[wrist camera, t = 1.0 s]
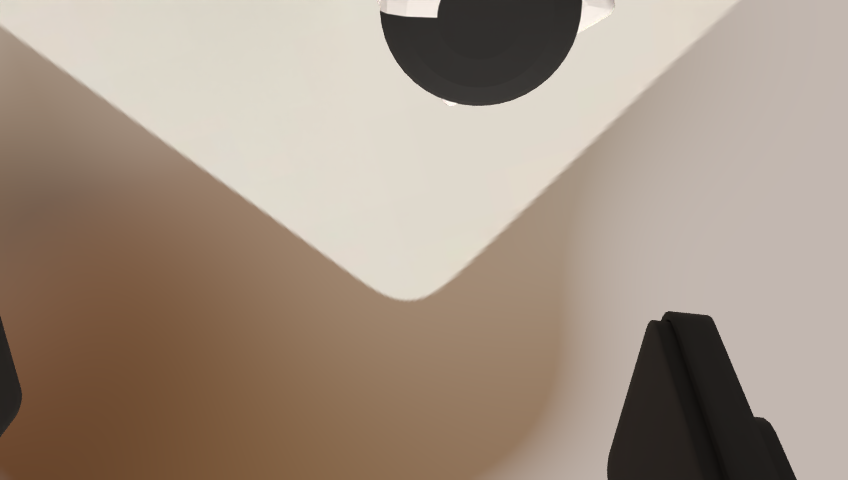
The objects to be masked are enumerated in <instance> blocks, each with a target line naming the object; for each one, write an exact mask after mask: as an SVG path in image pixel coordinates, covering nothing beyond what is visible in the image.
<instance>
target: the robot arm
mask: <svg viewBox="0 0 848 480" xmlns="http://www.w3.org/2000/svg"><path fill="white" fill-rule="evenodd" d="M21 400H22V393H21V387H20V383H19V380H18V377H17V373H16V370H15V366H14V363H13V359H12V356H11V352H10V349H9V345H8V342H7V338H6V335H5V331H4V328H3V324H2V321H1V317H0V437H1V435H2V434H3V432H4V431H5V430H6V429H7V427H8V426H9V425H10V423H11V422H12V421H13V419H14V418H15V416H16V415H17V413H18V411H19V408H20V405H21ZM607 477H608V480H797V479H796V477H795V475H794V473H793V470H792V468H791V466H790V464H789V461H788V459H787V457H786V454H785V452H784V450H783V448H782V445H781V443H780V441H779V439H778V437H777V434H776V432H775V430H774V429H773V427H772V425H771V424H770V423H769V422H768V421H767V420H766V419H764V418H760V417H754V416H753V414H752V411H751V409H750V406H749V404H748V402H747V399H746V397H745V394H744V392H743V390H742V387H741V385H740V383H739V380H738V378H737V375H736V373H735V371H734V368H733V366H732V364H731V361H730V359H729V356H728V354H727V351H726V349H725V347H724V345H723V342H722V340H721V337H720V335H719V332H718V330H717V328H716V325H715V323H714V321H713V319H712V318H711V317H710V316H708V315H700V314H690V313H681V312H671V311H668V312H666V313H665V314H664V316H663V317H662V320H661V321H656V320H651V321H650V322H649V324H648V326H647V328H646V332H645V335H644V339H643V342H642V345H641V348H640V352H639V355H638V359H637V362H636V365H635V369H634V372H633V376H632V379H631V382H630V385H629V389H628V392H627V396H626V399H625V403H624V406H623V409H622V412H621V416H620V419H619V423H618V426H617V429H616V433H615V436H614V439H613V443H612V446H611V449H610V453H609V458H608V466H607Z"/></svg>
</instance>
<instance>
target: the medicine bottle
mask: <svg viewBox="0 0 848 480" xmlns="http://www.w3.org/2000/svg"><path fill="white" fill-rule="evenodd" d="M377 2H378V3H379V5H380V15H381V24H382V28H383V32H384V36H385V39H386V42H387V44H388V46H389V49H390V51H391V53H392V55H393V56H394V58H395V60H396V62H397V63H398V64H399V66H400V67H401V68H402V69H403V71H404V72H405V73H406V74H407V75H408V76H409V77H410V78H411V79H412V80H413V81H414V82H415V83H416V84H418V85H419V86H420V87H422V88H423V89H424V90H426V91H428V92H430V93H431V94H433V95H435V96H437V97H439V98H441V99H442V100H443V102H444V103H445V104H446V105H450V106H452V105H455V104H457V103H458V104H463V105H472V106H484V105H494V104H500V103H504V102H507V101H511V100H514V99H516V98H518V97H521V96H523V95H525V94H527V93H529V92H530V91H532V90H534V89H535V88H537V87H538V86H539V85H541V84H542V83H543V82H544V81H546V80H547V79H548V78H549V77H550V76H551V75H552V74H553V73H554V72H555V71H556V70H557V69H558V67H559V66H560V65H561V63H562V62H563V61H564V59H565V58H566V56H567V54H568V52H569V51H570V49H571V47H572V45H573V43H574V40H575V37H576V35H577V34H578V33H580V32H581V31H583V30H585V29H586V28H588V27H590V26H592V25H593V24H595V23H597V22H599V21H600V20H602V19H604V18H605V17H607V16H609V15H610V14H611V13H612V12H613V10H614V7H615V3H614V0H377Z"/></svg>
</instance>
